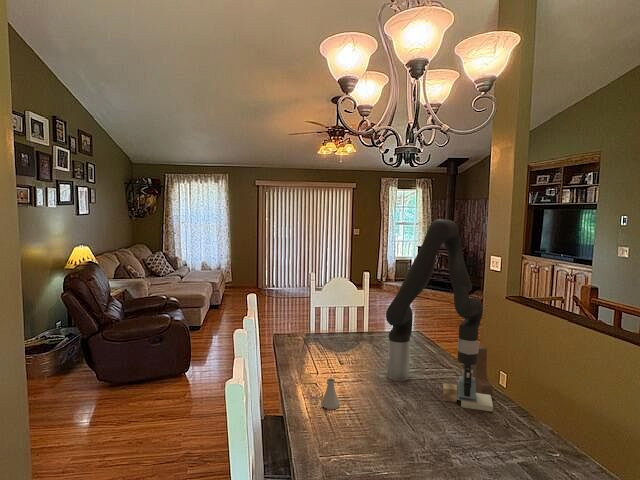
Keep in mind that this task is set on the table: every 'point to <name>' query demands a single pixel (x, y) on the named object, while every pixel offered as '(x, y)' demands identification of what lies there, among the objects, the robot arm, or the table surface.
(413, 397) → the table surface
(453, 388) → the oak block
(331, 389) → the flask
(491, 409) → the foundation board
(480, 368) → the wooden block
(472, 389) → the cube
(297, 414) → the table surface
